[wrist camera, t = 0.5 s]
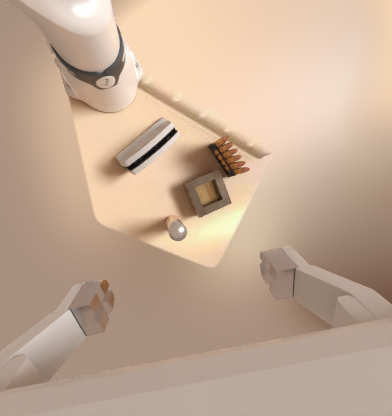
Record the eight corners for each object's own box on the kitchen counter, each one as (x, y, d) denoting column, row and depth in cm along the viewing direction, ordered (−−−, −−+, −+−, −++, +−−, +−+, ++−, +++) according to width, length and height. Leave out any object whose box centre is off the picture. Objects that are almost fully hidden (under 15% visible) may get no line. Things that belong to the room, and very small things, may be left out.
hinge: (162, 116, 49) (174, 114, 41) (173, 132, 52) (186, 132, 44) (113, 157, 48) (116, 163, 40) (127, 171, 51) (132, 179, 42)
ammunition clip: (208, 146, 53) (223, 135, 41) (213, 142, 53) (229, 130, 42) (228, 177, 55) (248, 174, 44) (233, 173, 56) (254, 169, 44)
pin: (163, 218, 53) (166, 228, 41) (176, 213, 53) (182, 220, 42) (169, 231, 53) (173, 243, 42) (182, 225, 54) (189, 236, 42)
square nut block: (183, 183, 53) (185, 183, 49) (214, 170, 54) (219, 169, 50) (196, 215, 55) (199, 217, 51) (226, 201, 56) (231, 203, 52)
